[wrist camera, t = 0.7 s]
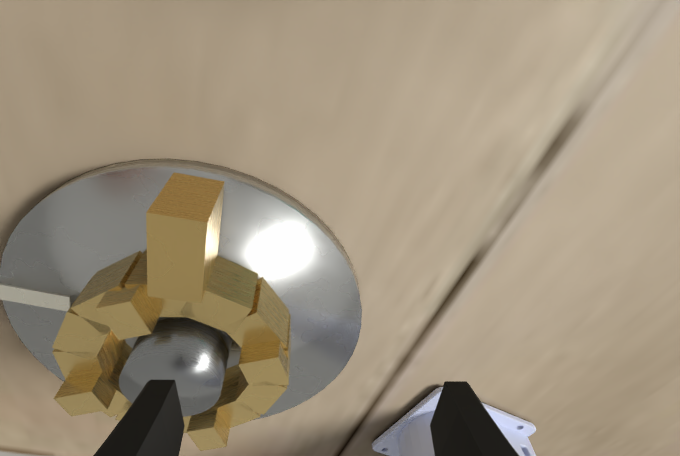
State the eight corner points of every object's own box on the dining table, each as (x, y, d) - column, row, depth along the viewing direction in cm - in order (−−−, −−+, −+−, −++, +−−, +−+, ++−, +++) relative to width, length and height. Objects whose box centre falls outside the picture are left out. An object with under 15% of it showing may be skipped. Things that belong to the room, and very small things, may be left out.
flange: (426, 267, 21) (452, 336, 17) (266, 437, 29) (258, 512, 25) (65, 74, 15) (-23, 112, 11) (-18, 353, 23) (-88, 434, 19)
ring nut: (369, 256, 19) (379, 306, 16) (237, 412, 25) (228, 469, 22) (150, 143, 16) (113, 182, 13) (58, 356, 21) (18, 415, 19)
